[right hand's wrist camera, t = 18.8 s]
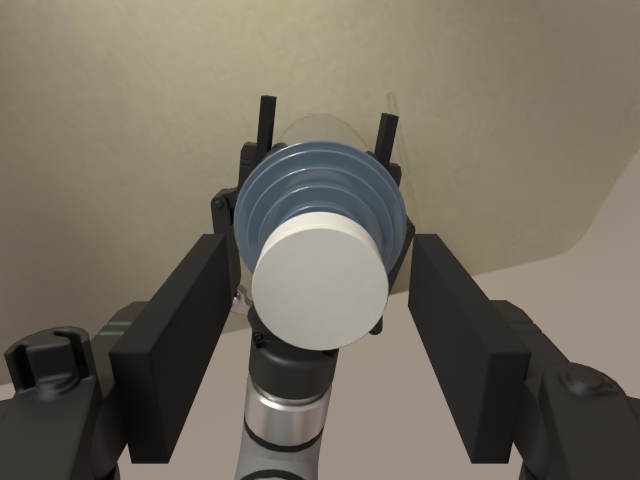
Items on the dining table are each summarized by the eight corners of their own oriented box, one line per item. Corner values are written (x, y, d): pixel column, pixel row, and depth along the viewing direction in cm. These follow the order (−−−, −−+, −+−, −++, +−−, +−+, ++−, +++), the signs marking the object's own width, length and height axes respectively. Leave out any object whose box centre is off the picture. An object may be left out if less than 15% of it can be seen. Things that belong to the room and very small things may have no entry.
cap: (406, 259, 14) (417, 281, 12) (330, 342, 15) (331, 372, 14) (308, 185, 13) (306, 198, 12) (235, 279, 14) (225, 303, 13)
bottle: (317, 218, 38) (312, 420, 15) (258, 156, 36) (147, 277, 13) (381, 162, 37) (490, 292, 13) (323, 94, 35) (330, 104, 11)
